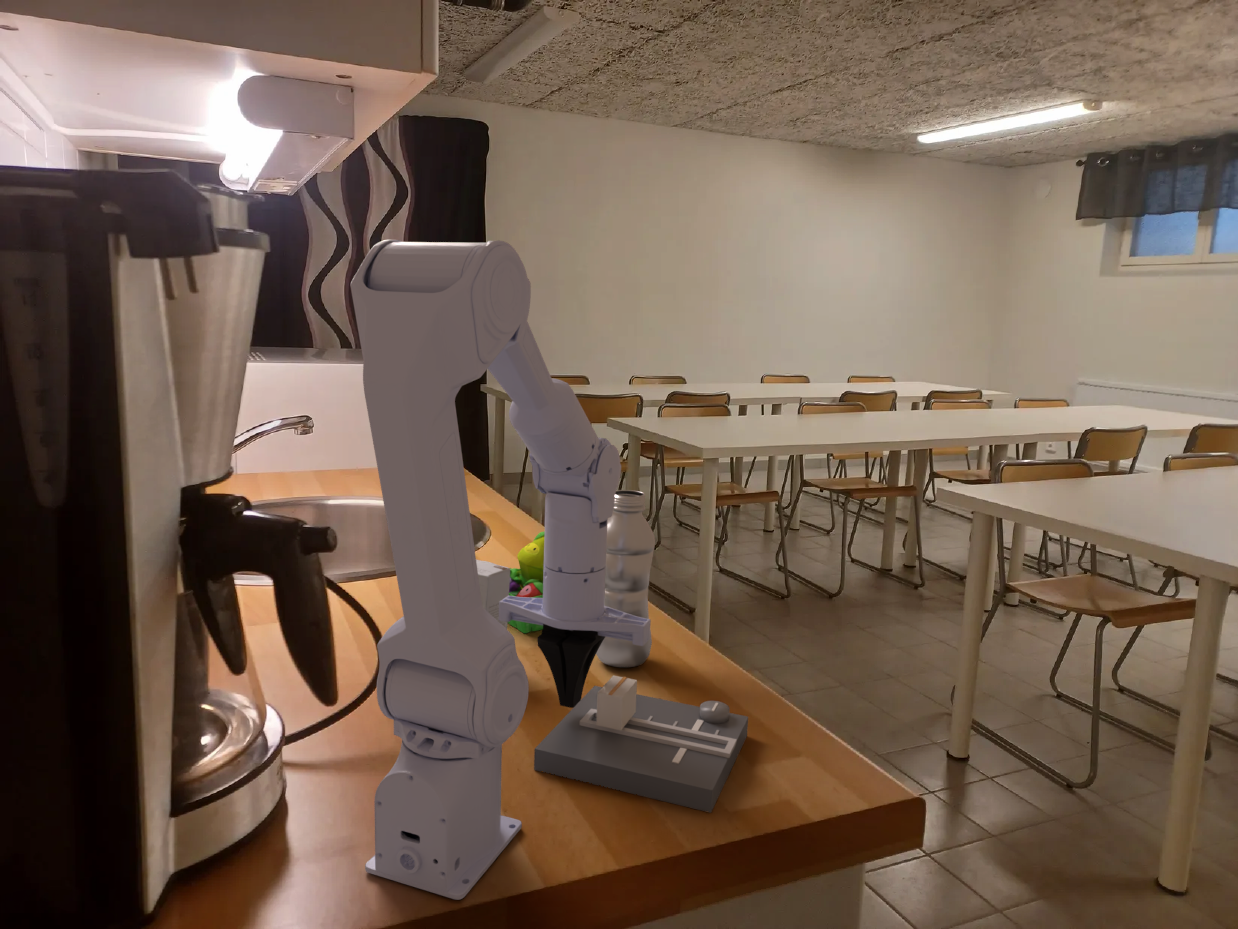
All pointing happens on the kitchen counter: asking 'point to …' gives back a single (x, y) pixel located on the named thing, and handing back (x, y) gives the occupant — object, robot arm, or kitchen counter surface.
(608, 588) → the plastic bottle
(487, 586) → the skincare box
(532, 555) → the fruit basket
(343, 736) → the kitchen counter surface
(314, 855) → the kitchen counter surface
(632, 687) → the fader cap
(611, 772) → the console
